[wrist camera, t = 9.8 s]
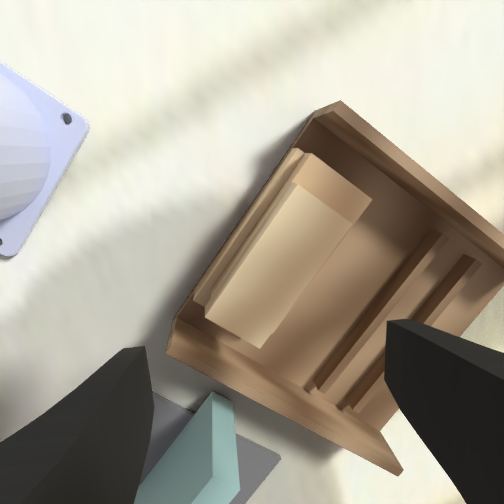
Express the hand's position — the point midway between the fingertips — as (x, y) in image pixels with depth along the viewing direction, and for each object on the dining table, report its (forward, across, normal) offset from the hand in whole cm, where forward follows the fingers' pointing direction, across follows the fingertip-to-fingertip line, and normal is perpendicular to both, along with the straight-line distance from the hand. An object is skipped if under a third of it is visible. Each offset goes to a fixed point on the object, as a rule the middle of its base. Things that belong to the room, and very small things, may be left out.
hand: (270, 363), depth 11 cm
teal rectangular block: (+10, +5, +12) cm, 16 cm away
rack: (+10, -6, +2) cm, 12 cm away
